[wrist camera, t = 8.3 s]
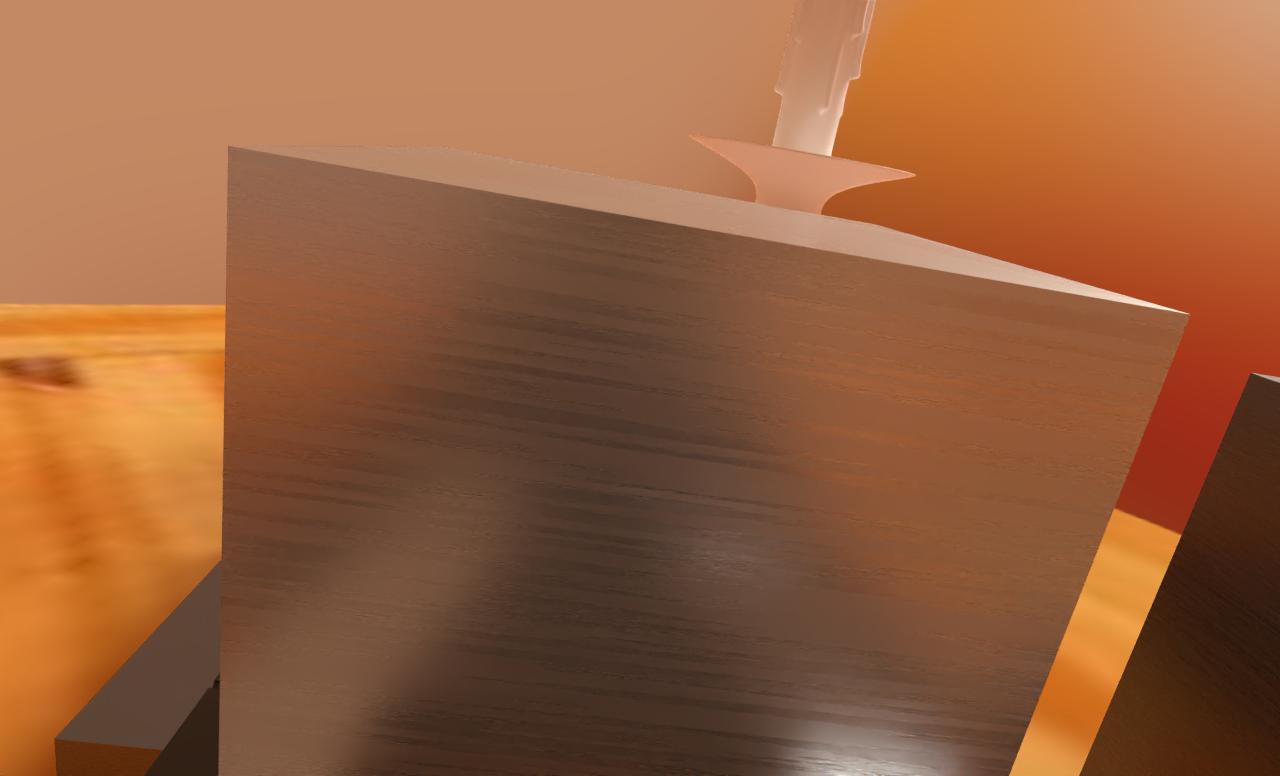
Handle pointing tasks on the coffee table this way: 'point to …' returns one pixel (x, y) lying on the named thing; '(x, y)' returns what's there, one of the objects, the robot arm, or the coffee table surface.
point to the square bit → (645, 477)
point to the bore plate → (148, 692)
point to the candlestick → (810, 111)
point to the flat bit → (1211, 625)
